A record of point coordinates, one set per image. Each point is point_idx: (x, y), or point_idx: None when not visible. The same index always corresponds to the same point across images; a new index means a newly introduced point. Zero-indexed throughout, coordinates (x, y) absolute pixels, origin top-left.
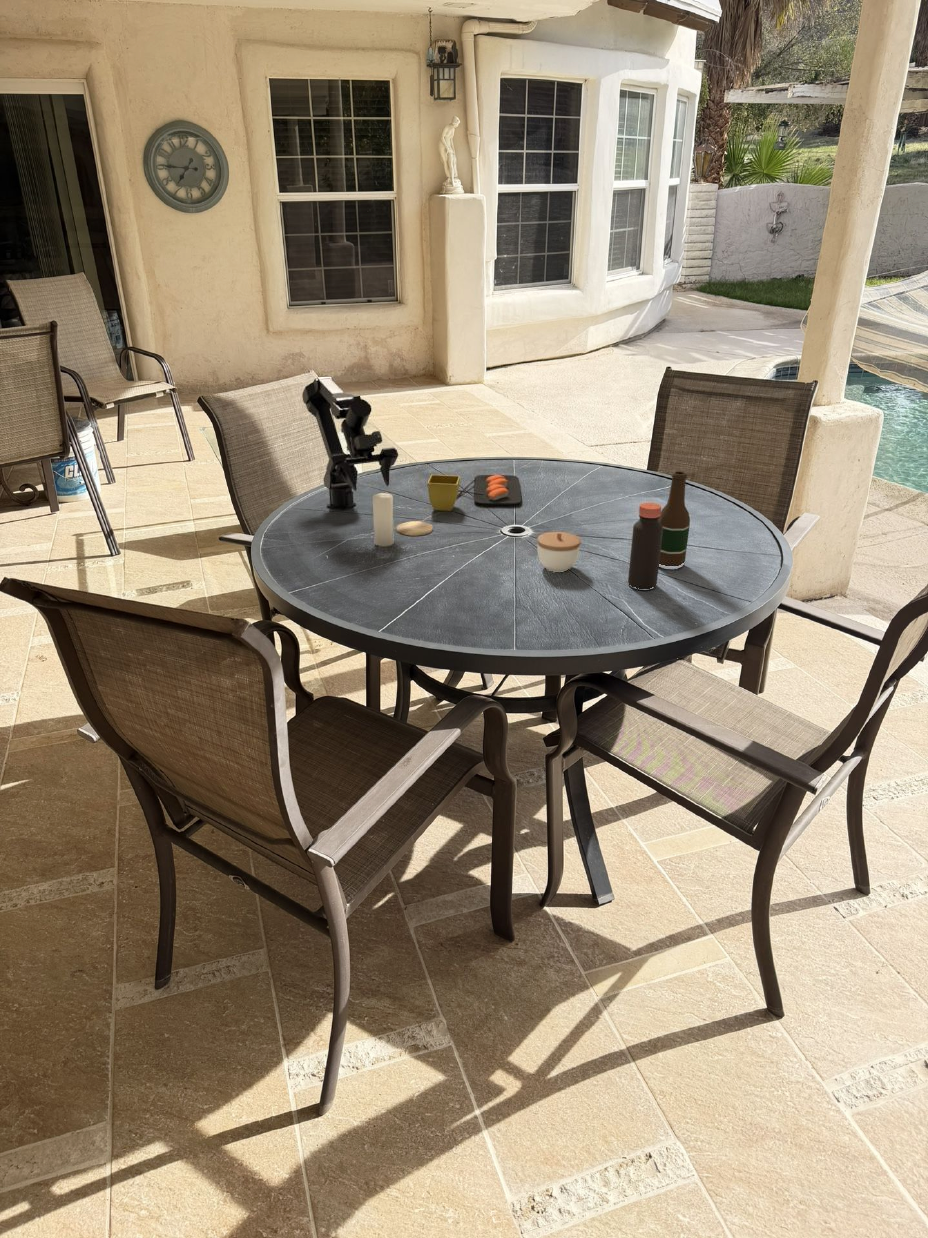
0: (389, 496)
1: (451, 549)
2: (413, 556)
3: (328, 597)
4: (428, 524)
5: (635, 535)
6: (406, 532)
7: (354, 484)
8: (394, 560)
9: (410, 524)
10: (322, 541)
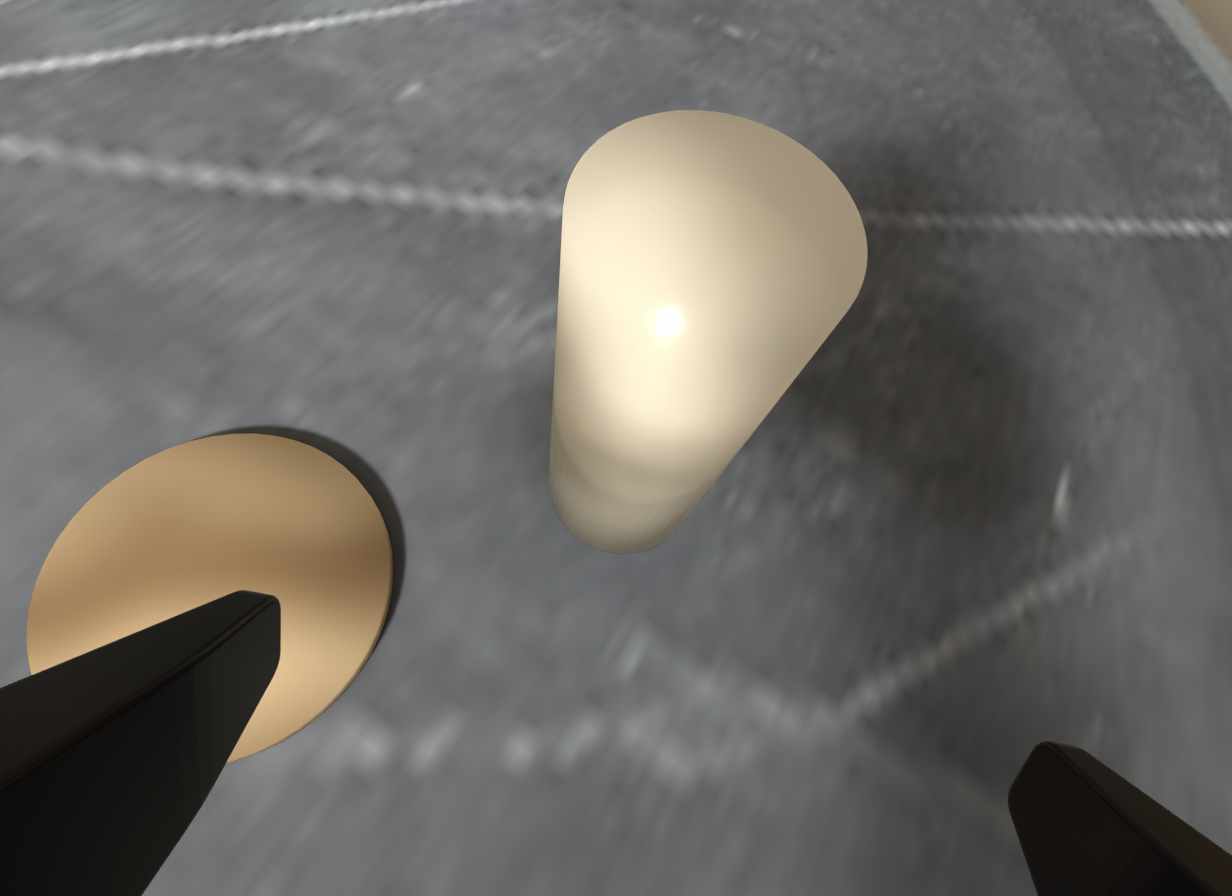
0: (636, 161)
1: (341, 153)
2: None
3: (1146, 112)
4: (58, 573)
5: None
6: (367, 522)
7: (1162, 822)
8: None
9: None
10: None
